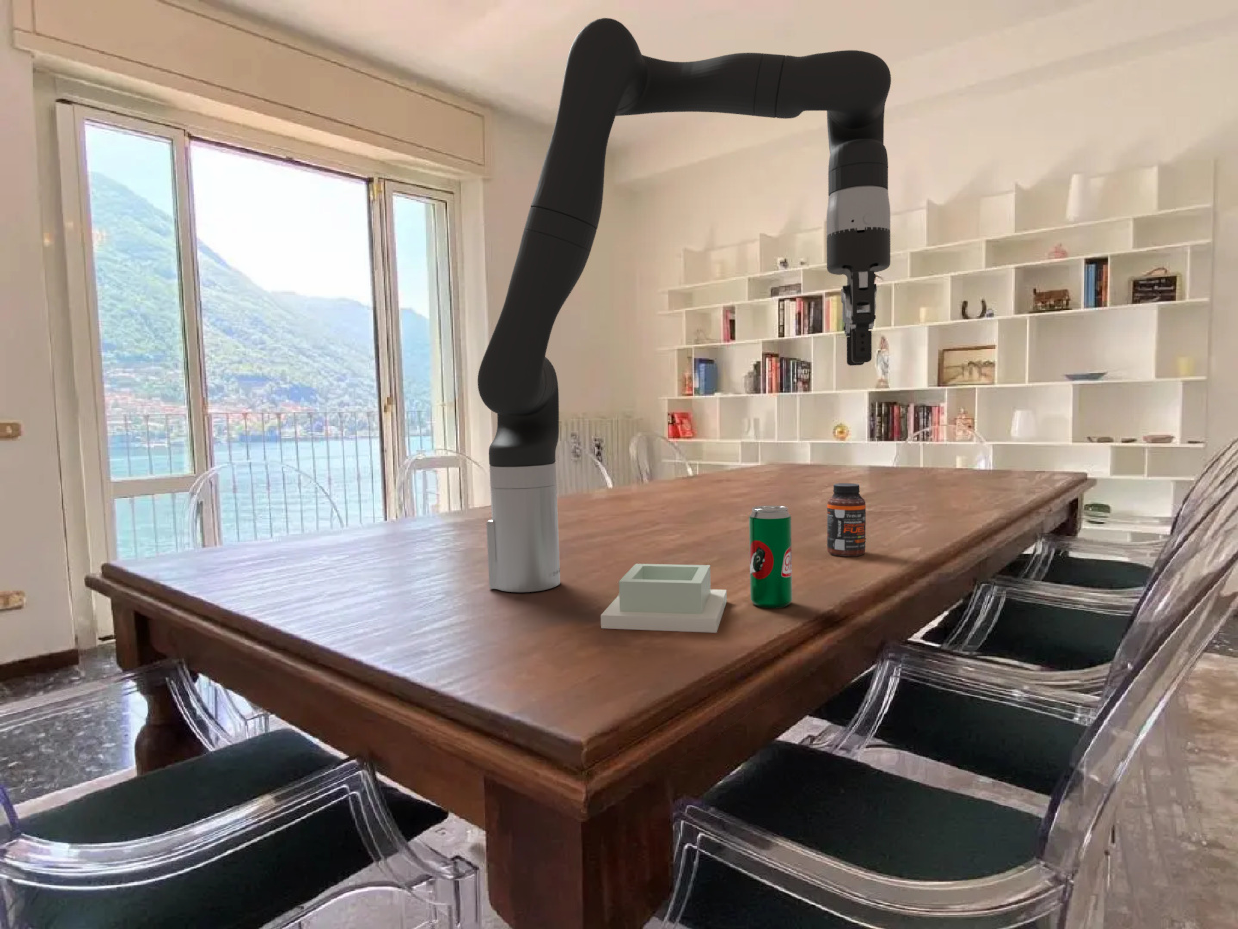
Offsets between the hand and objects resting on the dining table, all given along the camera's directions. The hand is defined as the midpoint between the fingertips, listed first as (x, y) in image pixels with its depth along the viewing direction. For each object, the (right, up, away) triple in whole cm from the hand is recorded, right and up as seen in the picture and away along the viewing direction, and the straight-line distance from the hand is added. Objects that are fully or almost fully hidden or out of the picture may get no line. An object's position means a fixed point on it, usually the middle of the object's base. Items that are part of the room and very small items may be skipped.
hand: (858, 363), depth 94 cm
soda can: (-11, -30, -1) cm, 32 cm away
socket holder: (-24, -31, -4) cm, 39 cm away
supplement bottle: (+7, -27, +27) cm, 39 cm away
